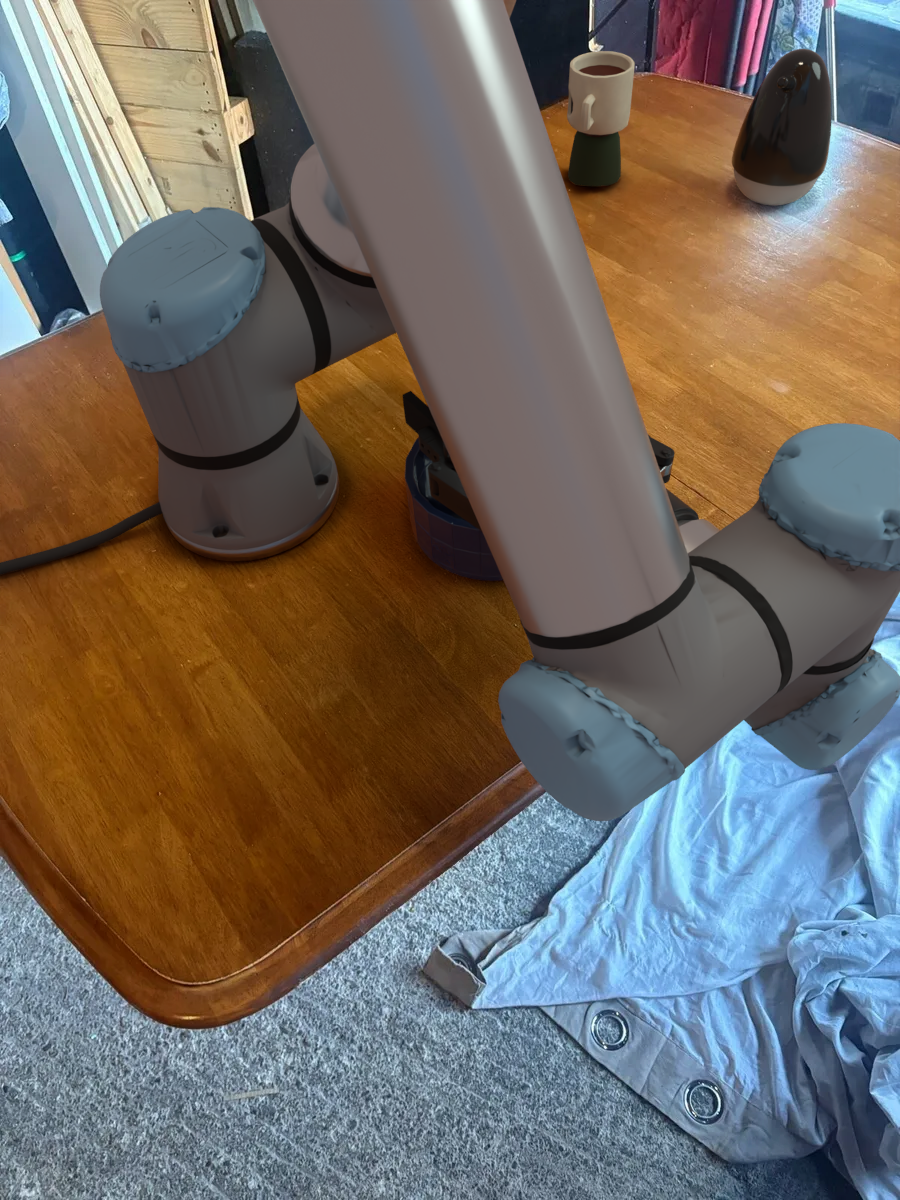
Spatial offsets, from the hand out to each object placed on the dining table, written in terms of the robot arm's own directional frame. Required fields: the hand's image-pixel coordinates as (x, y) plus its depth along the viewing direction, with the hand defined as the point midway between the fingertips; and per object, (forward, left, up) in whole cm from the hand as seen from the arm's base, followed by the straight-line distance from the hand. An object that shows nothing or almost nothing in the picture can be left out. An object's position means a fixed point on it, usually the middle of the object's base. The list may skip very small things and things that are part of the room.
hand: (454, 384), depth 68 cm
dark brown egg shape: (+56, +16, -11) cm, 59 cm away
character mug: (+43, +32, -11) cm, 55 cm away
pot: (0, -5, -11) cm, 12 cm away
